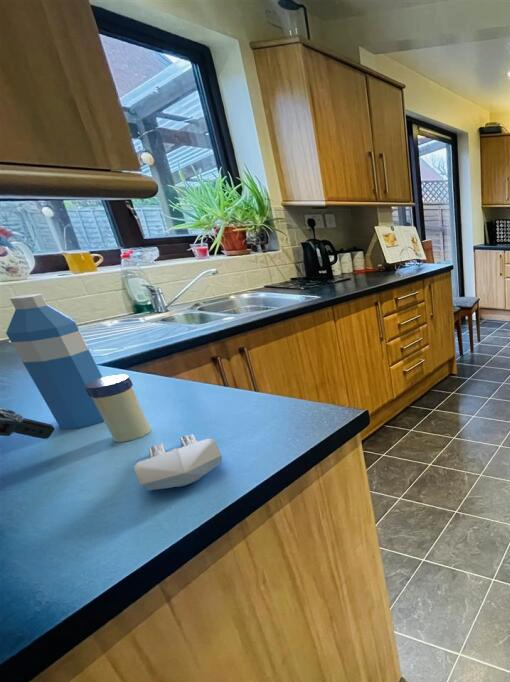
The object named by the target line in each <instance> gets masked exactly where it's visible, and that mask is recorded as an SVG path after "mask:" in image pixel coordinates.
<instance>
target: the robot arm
mask: <svg viewBox="0 0 510 682" xmlns="http://www.w3.org/2000/svg"><path fill="white" fill-rule="evenodd" d="M55 430H56V429H55V426H54V425H53V424H51V423H48V422H42V421H39V420H34V419H30V418H24V417H23V416H22V415H21V414H17V413H16V412H15V411H14V410H12V409H11V410H10V409H8V408H7V409H6V408H4V407H2V406H0V436H1V437H10V436H11V435H14V434H18V435H24V436H28V437H32V438H36V439H37V438H38V439H41V440H42V439H43V440H47V439H49V438H50V437H51V436H52V434H54V431H55Z"/></svg>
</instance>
